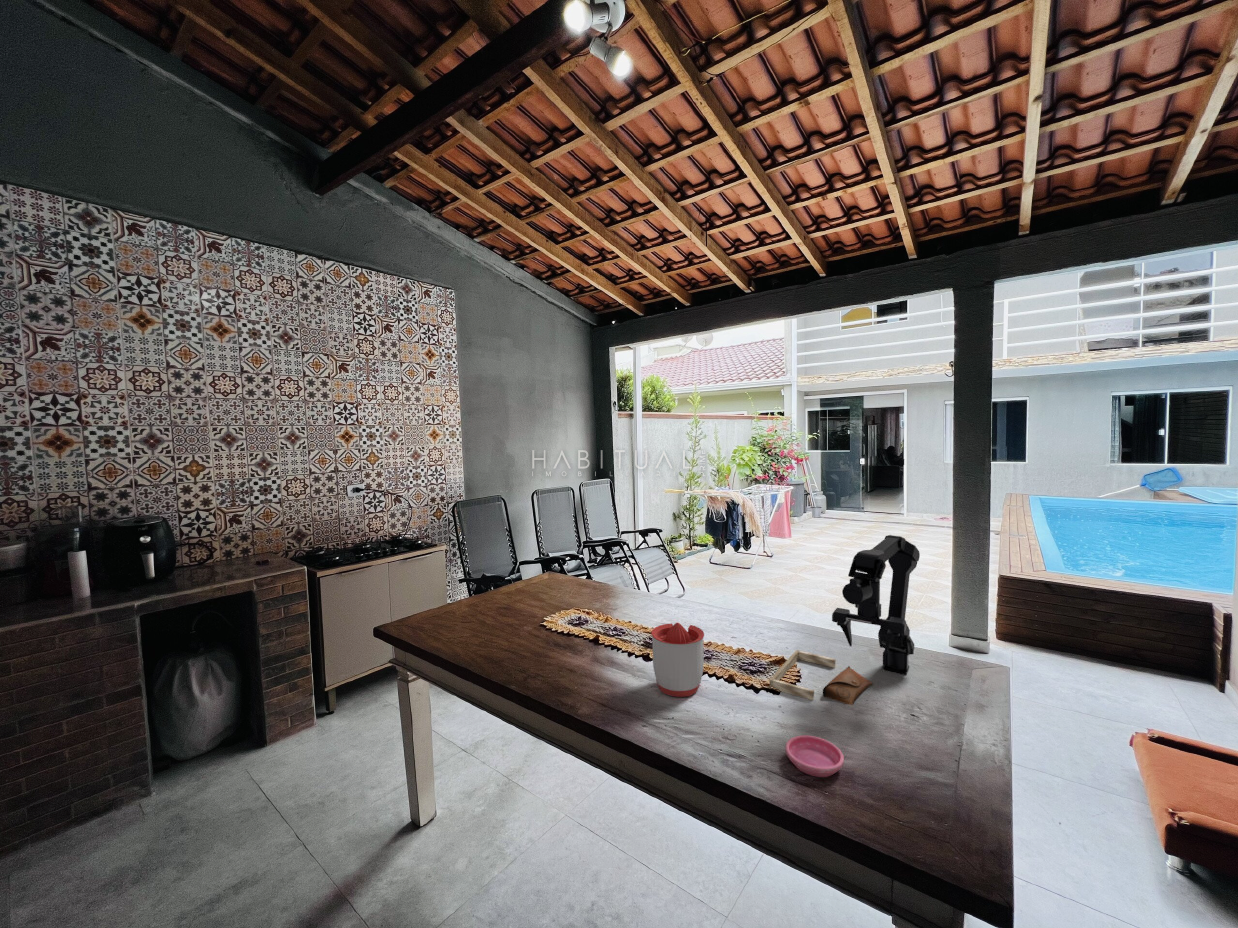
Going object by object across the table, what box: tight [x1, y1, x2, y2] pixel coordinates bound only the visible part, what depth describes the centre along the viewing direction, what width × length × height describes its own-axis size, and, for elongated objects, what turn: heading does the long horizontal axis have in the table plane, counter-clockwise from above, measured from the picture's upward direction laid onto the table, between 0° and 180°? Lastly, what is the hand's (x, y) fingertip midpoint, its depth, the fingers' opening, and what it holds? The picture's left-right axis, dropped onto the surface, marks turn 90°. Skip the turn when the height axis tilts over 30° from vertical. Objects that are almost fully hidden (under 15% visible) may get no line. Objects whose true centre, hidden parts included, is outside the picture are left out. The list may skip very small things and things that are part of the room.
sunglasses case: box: [822, 665, 874, 706], centre depth 148 cm, size 18×7×7 cm, turn 136°
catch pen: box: [769, 649, 837, 701], centre depth 155 cm, size 12×25×2 cm, turn 143°
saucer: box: [784, 734, 845, 778], centre depth 115 cm, size 12×12×3 cm
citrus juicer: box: [651, 622, 705, 698], centre depth 151 cm, size 16×17×20 cm
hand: (868, 649), depth 146 cm, fingers open, 9 cm apart
